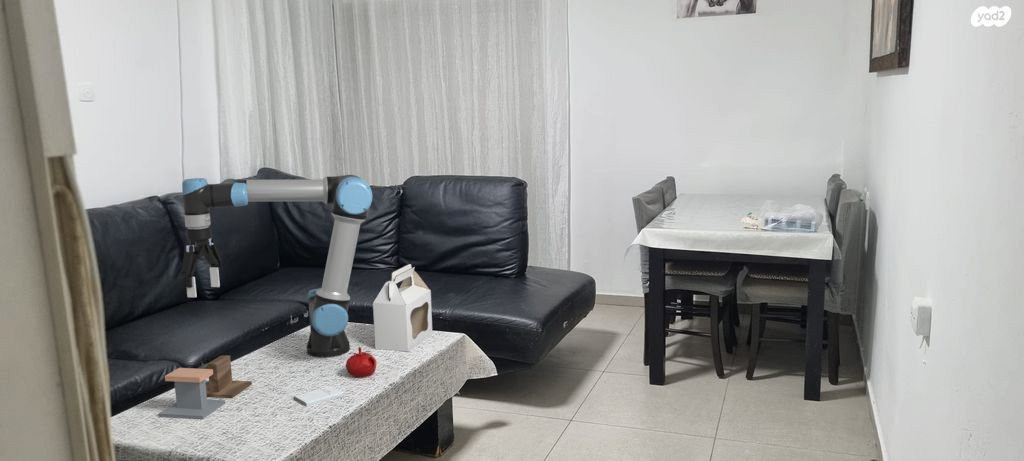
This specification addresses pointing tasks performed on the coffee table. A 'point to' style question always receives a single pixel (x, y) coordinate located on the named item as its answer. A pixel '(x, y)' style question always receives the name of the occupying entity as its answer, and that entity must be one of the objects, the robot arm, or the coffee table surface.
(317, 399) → the external hard drive
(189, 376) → the terracotta tile
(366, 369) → the pomegranate
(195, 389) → the slate stand
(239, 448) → the coffee table surface
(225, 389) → the walnut stand
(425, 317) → the gable box
